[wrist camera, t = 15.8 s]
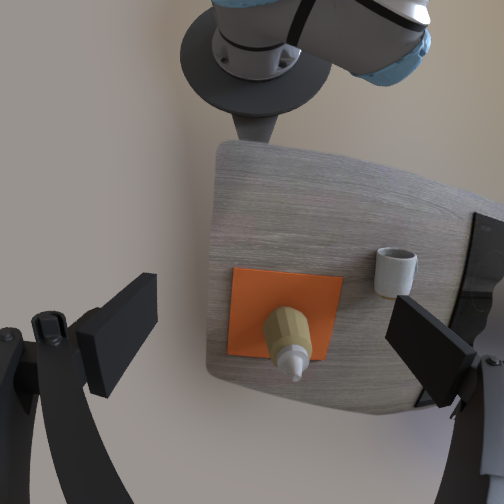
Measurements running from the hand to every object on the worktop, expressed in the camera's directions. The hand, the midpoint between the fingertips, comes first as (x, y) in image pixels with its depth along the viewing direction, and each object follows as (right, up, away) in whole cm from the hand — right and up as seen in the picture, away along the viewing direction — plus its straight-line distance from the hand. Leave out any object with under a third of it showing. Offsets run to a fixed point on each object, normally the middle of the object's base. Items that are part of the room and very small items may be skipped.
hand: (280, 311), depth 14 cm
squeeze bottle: (+4, -9, +37) cm, 39 cm away
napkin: (+4, -9, +38) cm, 39 cm away
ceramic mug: (+25, 0, +36) cm, 44 cm away
